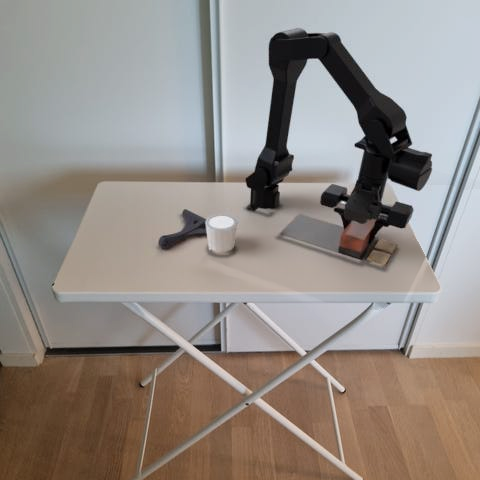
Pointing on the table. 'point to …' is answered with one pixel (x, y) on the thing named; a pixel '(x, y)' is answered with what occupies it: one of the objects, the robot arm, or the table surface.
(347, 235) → the reddish orange block
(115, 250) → the table surface
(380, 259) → the cork bit
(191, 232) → the bracket
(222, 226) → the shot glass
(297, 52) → the robot arm
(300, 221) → the board
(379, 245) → the cork bit
